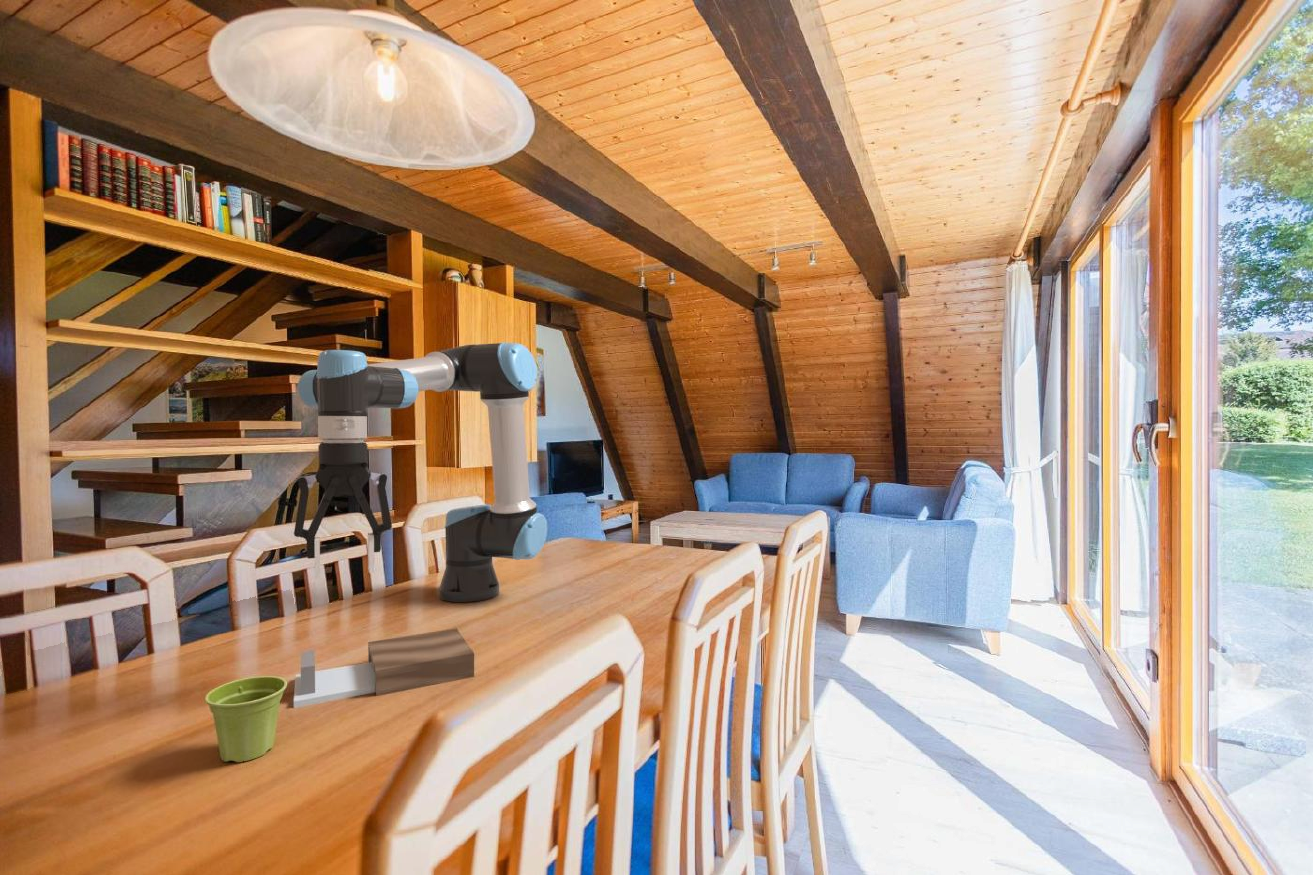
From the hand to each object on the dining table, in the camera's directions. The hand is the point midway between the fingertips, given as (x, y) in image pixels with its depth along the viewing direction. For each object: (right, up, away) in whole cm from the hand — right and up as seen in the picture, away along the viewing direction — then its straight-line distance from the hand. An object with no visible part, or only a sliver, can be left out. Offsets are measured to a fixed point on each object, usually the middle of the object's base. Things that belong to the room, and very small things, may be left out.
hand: (344, 573), depth 107 cm
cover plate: (+4, -20, +3) cm, 20 cm away
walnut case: (+11, -19, +6) cm, 23 cm away
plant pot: (-2, -20, -22) cm, 29 cm away
